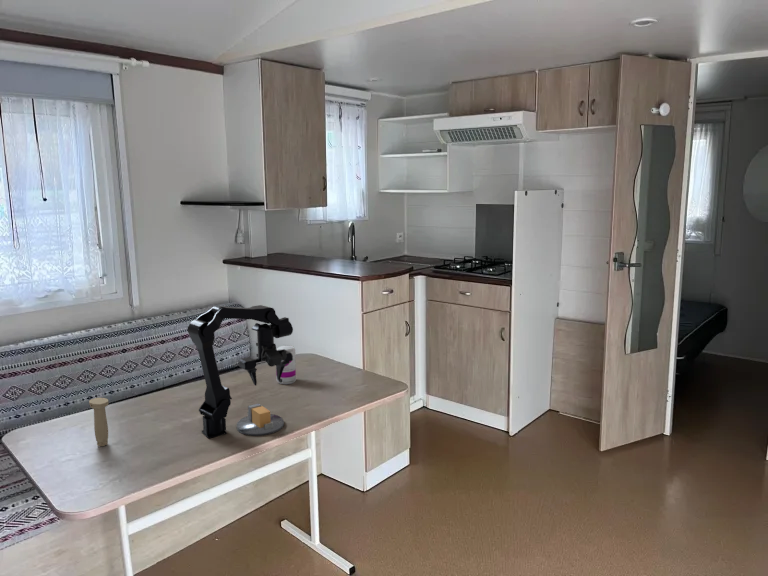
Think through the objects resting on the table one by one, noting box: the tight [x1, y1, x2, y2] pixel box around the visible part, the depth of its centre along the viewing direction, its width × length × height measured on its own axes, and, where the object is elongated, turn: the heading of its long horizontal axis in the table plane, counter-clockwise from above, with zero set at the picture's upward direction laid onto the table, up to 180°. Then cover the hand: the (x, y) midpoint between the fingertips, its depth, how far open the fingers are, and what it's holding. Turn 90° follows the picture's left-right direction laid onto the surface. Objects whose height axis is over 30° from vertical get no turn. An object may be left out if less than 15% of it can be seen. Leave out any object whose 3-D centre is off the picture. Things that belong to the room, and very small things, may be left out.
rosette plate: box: [236, 413, 285, 437], centre depth 205 cm, size 16×16×3 cm
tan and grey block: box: [247, 403, 271, 428], centre depth 205 cm, size 4×9×5 cm, turn 38°
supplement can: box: [275, 344, 297, 385], centre depth 248 cm, size 8×8×15 cm
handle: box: [88, 397, 110, 447], centre depth 189 cm, size 5×6×15 cm
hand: (267, 382), depth 213 cm, fingers open, 9 cm apart
